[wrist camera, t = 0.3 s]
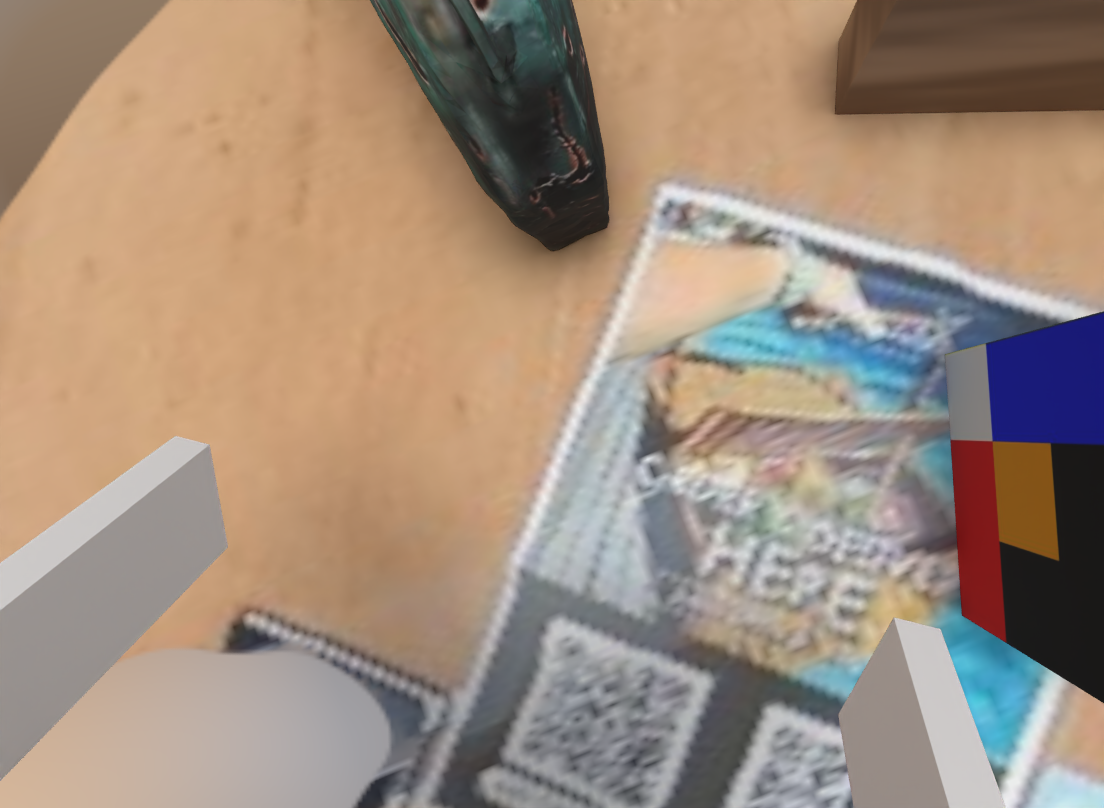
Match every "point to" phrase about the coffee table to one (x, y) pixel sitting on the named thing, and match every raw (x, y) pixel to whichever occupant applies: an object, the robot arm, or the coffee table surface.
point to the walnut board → (971, 56)
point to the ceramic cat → (513, 105)
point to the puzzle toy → (1033, 493)
